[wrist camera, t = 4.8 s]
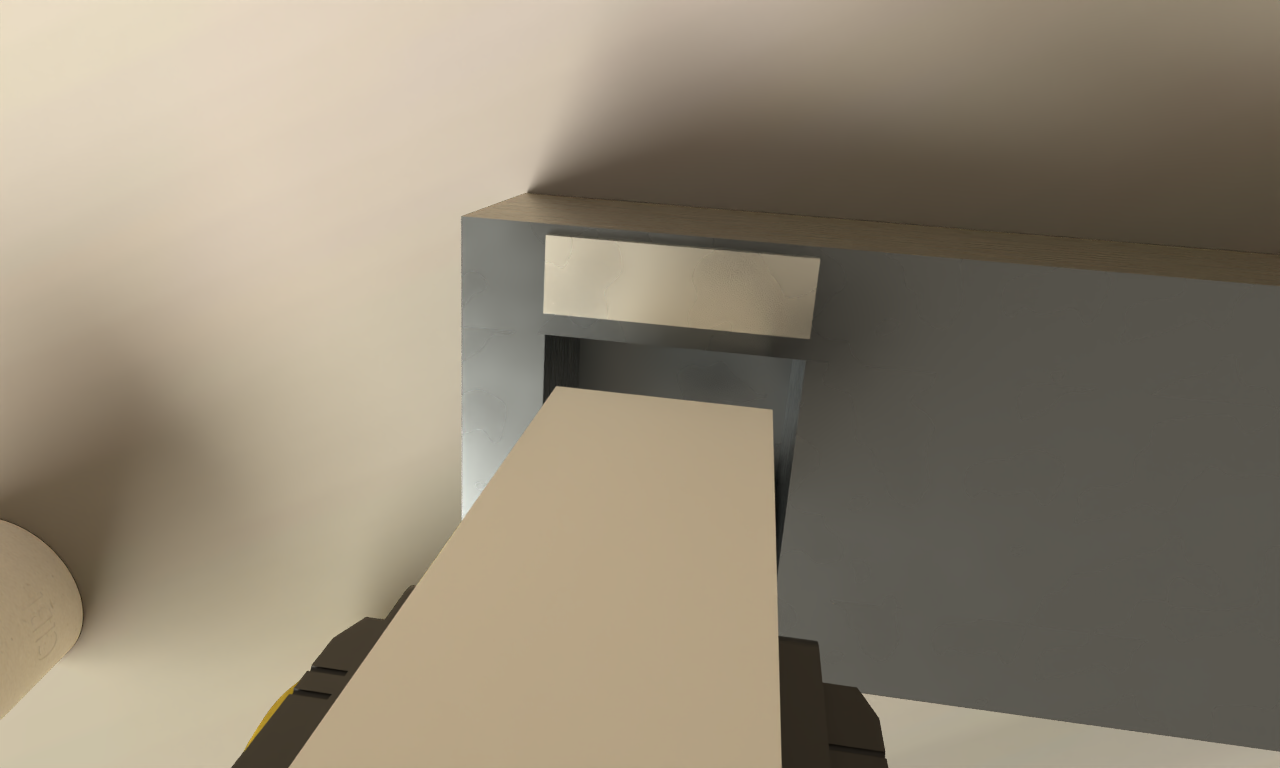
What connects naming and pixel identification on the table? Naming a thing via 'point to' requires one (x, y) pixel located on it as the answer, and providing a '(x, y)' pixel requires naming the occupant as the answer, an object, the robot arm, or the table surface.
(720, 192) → the table surface
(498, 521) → the plug
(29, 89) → the table surface
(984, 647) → the panel
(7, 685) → the dixie cup
